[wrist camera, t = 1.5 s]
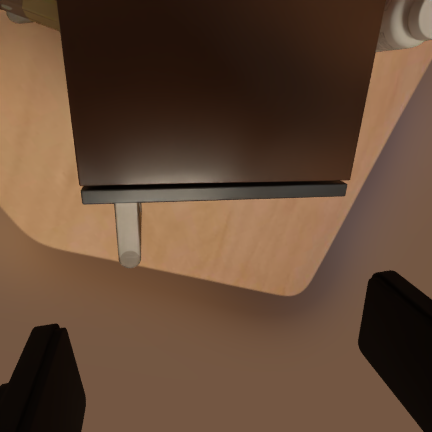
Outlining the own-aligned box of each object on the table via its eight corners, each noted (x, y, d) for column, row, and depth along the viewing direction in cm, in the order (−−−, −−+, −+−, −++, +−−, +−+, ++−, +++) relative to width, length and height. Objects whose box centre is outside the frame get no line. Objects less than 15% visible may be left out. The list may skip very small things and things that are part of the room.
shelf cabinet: (261, 136, 34) (350, 180, 19) (109, 135, 31) (79, 186, 16) (272, 12, 30) (397, -51, 15) (97, -4, 27) (43, -100, 12)
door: (256, 197, 36) (329, 274, 22) (114, 201, 33) (93, 294, 19) (261, 139, 34) (347, 183, 20) (109, 138, 31) (80, 190, 17)
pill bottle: (391, 51, 33) (457, 44, 26) (351, 53, 32) (408, 46, 25) (398, 0, 31) (472, -22, 24) (356, 0, 31) (420, -22, 24)
